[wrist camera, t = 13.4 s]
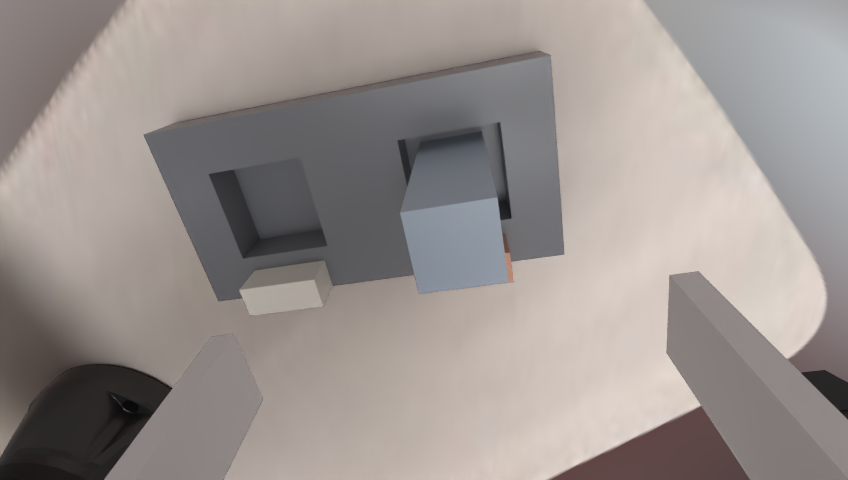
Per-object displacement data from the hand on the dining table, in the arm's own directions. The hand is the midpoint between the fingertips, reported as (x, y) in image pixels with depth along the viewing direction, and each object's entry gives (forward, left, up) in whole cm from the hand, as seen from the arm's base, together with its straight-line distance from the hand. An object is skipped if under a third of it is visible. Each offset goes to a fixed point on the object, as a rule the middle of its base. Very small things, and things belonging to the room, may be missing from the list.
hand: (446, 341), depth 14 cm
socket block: (-6, 0, -19) cm, 19 cm away
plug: (0, 0, -18) cm, 18 cm away
